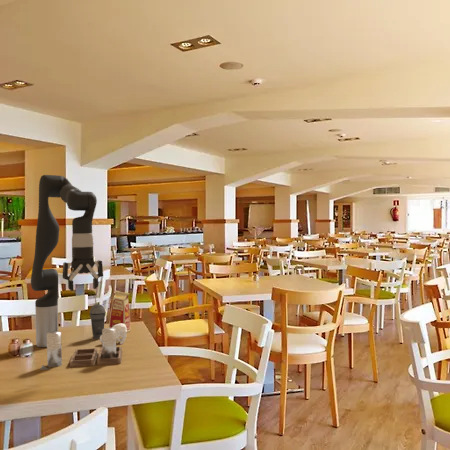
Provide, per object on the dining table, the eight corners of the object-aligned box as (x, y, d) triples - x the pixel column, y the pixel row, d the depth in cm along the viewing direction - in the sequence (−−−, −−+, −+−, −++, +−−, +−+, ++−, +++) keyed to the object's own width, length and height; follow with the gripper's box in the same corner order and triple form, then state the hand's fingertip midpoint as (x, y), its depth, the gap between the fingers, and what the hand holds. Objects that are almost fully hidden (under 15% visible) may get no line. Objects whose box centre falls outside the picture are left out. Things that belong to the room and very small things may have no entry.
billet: (100, 361, 181) (99, 329, 181) (112, 358, 185) (111, 327, 185) (106, 363, 178) (105, 331, 178) (118, 361, 181) (118, 329, 181)
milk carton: (108, 333, 235) (107, 291, 235) (115, 328, 244) (115, 289, 244) (126, 333, 233) (125, 291, 233) (133, 329, 242) (132, 289, 242)
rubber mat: (44, 365, 181) (44, 363, 181) (69, 363, 183) (69, 361, 183) (39, 372, 172) (39, 370, 172) (65, 370, 174) (65, 368, 174)
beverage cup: (102, 340, 220) (101, 296, 220) (87, 339, 221) (86, 295, 221) (108, 336, 227) (108, 293, 227) (94, 336, 228) (93, 293, 228)
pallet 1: (75, 357, 192) (75, 349, 192) (97, 355, 193) (97, 348, 193) (69, 369, 174) (69, 361, 174) (94, 368, 176) (93, 359, 176)
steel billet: (45, 365, 178) (44, 332, 178) (58, 362, 181) (58, 330, 181) (50, 368, 174) (49, 335, 174) (64, 365, 177) (63, 332, 177)
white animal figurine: (126, 324, 211) (98, 329, 208) (129, 343, 212) (100, 348, 208) (125, 321, 217) (97, 326, 214) (127, 340, 218) (100, 345, 214)
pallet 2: (100, 355, 193) (100, 347, 193) (122, 353, 195) (122, 346, 195) (96, 368, 176) (96, 359, 176) (121, 366, 178) (120, 358, 178)
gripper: (98, 244, 185) (99, 287, 185) (60, 246, 178) (61, 290, 178) (104, 245, 179) (105, 289, 179) (65, 246, 172) (66, 292, 172)
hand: (83, 289), depth 179 cm, fingers open, 8 cm apart
